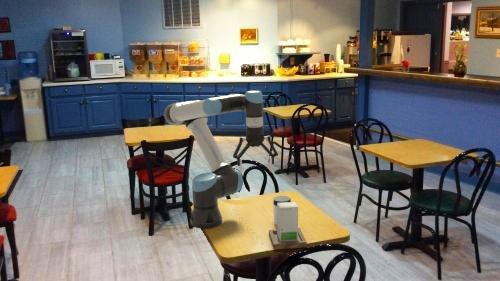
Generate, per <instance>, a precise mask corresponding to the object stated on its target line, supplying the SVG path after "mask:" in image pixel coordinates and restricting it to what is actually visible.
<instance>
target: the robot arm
mask: <svg viewBox="0 0 500 281" xmlns="http://www.w3.org/2000/svg"><path fill="white" fill-rule="evenodd" d="M263 98H264V97H263V93H262V91H261V90H248V91H245V94H242V93H241V94H240V93H229V94H228V95H224V96H216V97H213V96H212V97H209V98H206V99H202V100H199V99H191V100H188V101H187V100H186V101H179V102H178V101H177V102H173V103H171V104H168V105H167V106H166V107H165V109H164V112H163V117H164V119H165V121H166V122H167V123H168V124H170V125H172V126H183V125H185V127H186V129H187V130H188V131H190V132H191V133H192V135H193V138H194V140H195V141H196V143H197V145H198V148H199V149H200V151H201V153H202V155H203V157H204V159H205V162H206V163H207V165H208V168H209V170H210V172H203V173H199V174H198V175H195V176H194V177H193V178H192V181H191V190H192V205H193V206H192V211H191V212H192V213H191V216H190V226H192V227H194V228H195V229H202V230H203V229H213V228H216V227H219V226H220V225H221V224H223V216H222V214H221V211H220V209H219V204H218V203H219V202H218V200H219V199H222V198H225V197H229V196H231V195H234V194H236V193H239V192H240V191H241V189H242V188H243V183H244V180H243V176H242V174H243V164H242V163H243V160H242V157H243V156H244V154H245V153H246V152H247V151H248V150H249V148H250V147H252V148H255V147H261V148H263V149H264V151H265V152H266V153H267V154H268V155H269V157H268V159H269V165H268V166H269V172H270V173H272V172H273V165H274V164H275V157H278V155H279V153H278V152H277V150H276V148H275V145H274V144H273V142H272V139H271V136H270V135H266V136H264V111H263V110H264V107H263V106H264V105H263V104H264V99H263ZM233 112H234V113H235V112H244V113H245V125H246V126H245V127H246V137H243V136H239V141H238V144H237V146H236V148H235V150H234V152H233V154H232V157H233V159H236V164H237V167H239V170H238V169H236V168H233V167H232V165H231V164H230V163H227V161H226V159H225V158H224V155H223V153H222V152H221V150H220V147H219V146H218V143H217V142H216V140H215V138H214V135H213V134H212V132H211V130H210V128H209V126H208V120H209V119H208V117H211V116H217V115H223V114H229V113H233ZM264 141H267V142H268V144H269V147H270V148H271V150H272V151H271V150H270V149H269V148H268V147H267V146H266V145H265V143H264ZM244 142H247V143H246V144H245V146H243V148H242V145H243V143H244ZM241 148H242V149H241ZM240 149H241V151H240Z"/></svg>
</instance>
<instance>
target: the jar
mask: <svg viewBox="0 0 500 281" xmlns="http://www.w3.org/2000/svg"><path fill="white" fill-rule="evenodd" d="M272 201H273V203H272V204H273V205H272V206H273V207H272V208H273V210H272V211H273V223H274V226H275V225H276V226H277V203H284V202H292V201H291V197H289V196H287V195H278V196H275V197H273V200H272Z"/></svg>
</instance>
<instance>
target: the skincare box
mask: <svg viewBox="0 0 500 281" xmlns="http://www.w3.org/2000/svg"><path fill="white" fill-rule="evenodd" d="M298 228H299V206H298V204H297V202H295V201H291V202H284V203H277V225H276V229H277V237H278V239H279V241H280V242H286V241H298Z"/></svg>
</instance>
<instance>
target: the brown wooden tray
mask: <svg viewBox="0 0 500 281" xmlns="http://www.w3.org/2000/svg"><path fill="white" fill-rule="evenodd" d="M268 236H269V239H270V242H271V245H272V248H273V250H282V249H296V248H297V249H298V248H307V247H308V242H307V240H306V238H305V236H304V234H303V232H302V230H301V227H298V241H286V242H280V241H279V239H278V237H277V228H275V229H268Z"/></svg>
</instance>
